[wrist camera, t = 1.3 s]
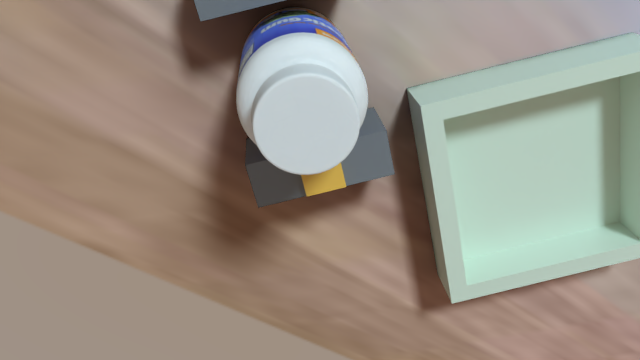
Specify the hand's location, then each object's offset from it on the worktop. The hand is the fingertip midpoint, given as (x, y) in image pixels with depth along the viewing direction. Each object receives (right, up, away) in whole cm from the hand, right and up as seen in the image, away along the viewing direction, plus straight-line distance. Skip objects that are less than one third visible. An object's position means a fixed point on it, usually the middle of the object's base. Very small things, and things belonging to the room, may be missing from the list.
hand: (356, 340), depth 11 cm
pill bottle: (-2, +9, +19) cm, 22 cm away
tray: (+11, +4, +23) cm, 26 cm away
